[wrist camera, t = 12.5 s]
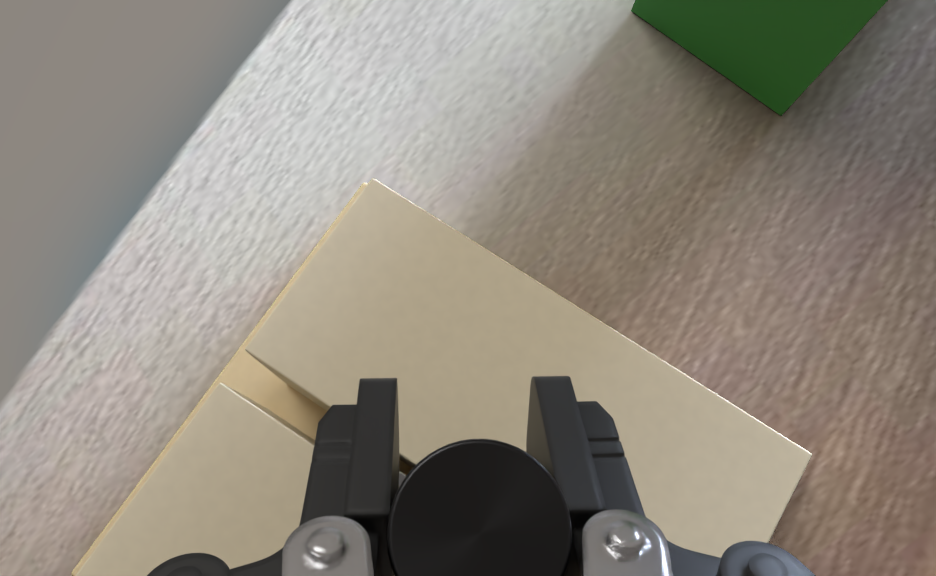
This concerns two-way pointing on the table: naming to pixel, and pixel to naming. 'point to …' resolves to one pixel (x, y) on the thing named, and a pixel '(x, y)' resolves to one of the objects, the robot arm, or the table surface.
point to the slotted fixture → (433, 398)
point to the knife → (479, 515)
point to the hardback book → (762, 38)
